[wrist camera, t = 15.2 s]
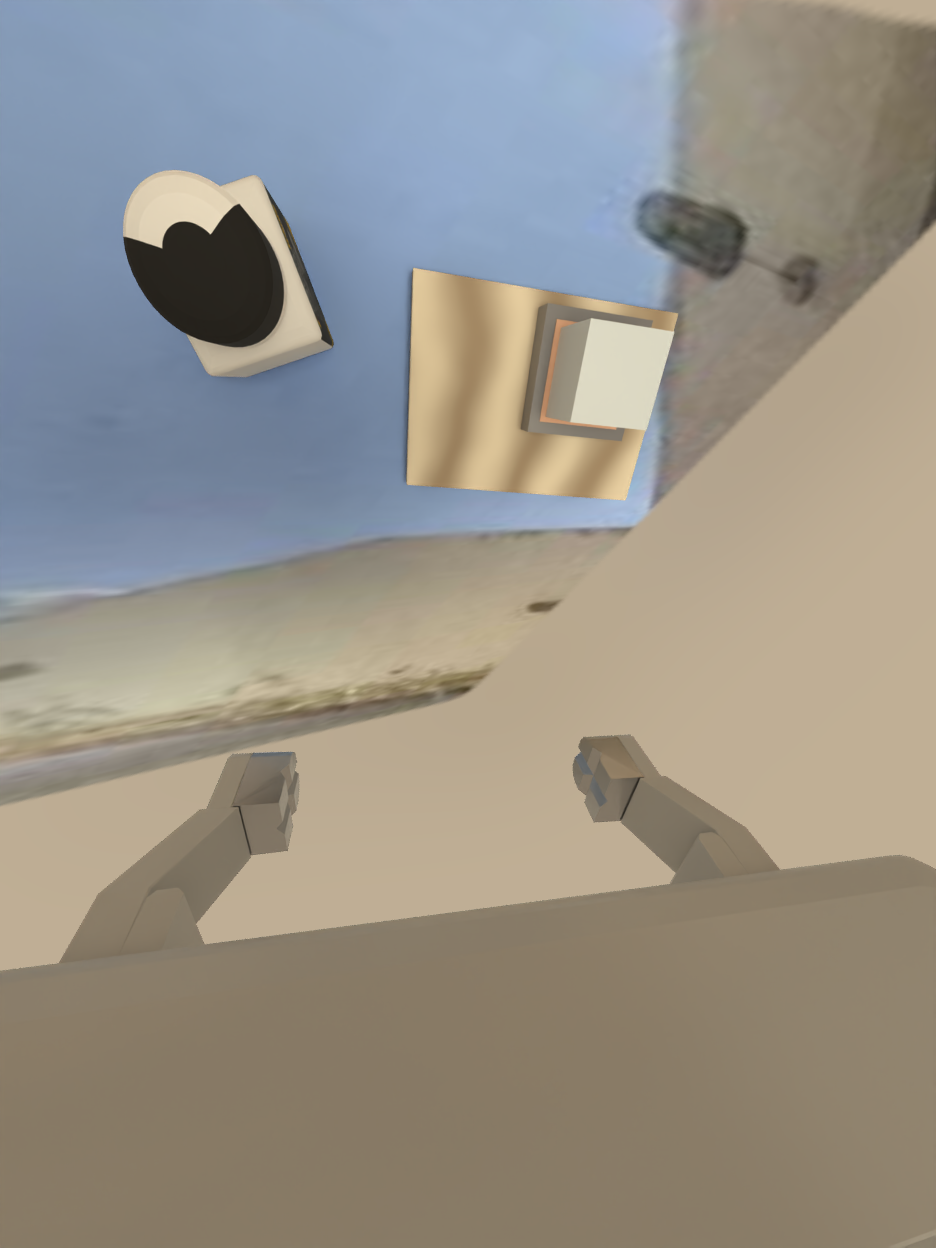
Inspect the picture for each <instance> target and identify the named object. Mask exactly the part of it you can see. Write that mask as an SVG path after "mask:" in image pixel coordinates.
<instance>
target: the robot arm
mask: <svg viewBox="0 0 936 1248" xmlns="http://www.w3.org/2000/svg"><path fill="white" fill-rule="evenodd" d="M579 749H580V751H581V752H580V754H578V755H577V756H576V757H575V759H574V763H573V776H574V780H575V783H576V785H577V788H578V789H579V790H580V791H581V792H582V793H584V794H585V795H586V799H585V804H586V807H587V809H588V811H589V813H590V815H591V817H592V819H593V821H594V822H608V821H621V823H622V824H623V825H624V826H626V827H627V828H628V829H629V830H630V831H631V832H632V833H633V834H634V835H635V836H636V837H637V838H639V839H640V840H641V841H642V842H643V843H644V844H645V845H646V846H647V847H648V848H649V849H650V850H651V851H653V852H654V853H655V854H656V855H657V856H658V857H659V858H660V859H661V860H662V861H663V862H664V863H666V864H667V865H668V866H669V867H670V868H671V869H672V870H673V871H674V872H676V874H675V876H674V877H673V879H672V880H671V882H670V884H667V885H660V886H652V887H645V888H637V889H629V890H622V891H613V892H606V893H599V894H591V895H583V896H575V897H567V898H560V899H552V900H545V901H536V902H529V903H521V904H513V905H506V906H498V907H491V908H483V909H475V910H468V911H460V912H452V913H445V914H437V915H430V916H422V917H414V918H407V919H399V920H391V921H383V922H375V923H367V924H360V925H352V926H344V927H337V928H329V929H321V930H314V931H306V932H298V933H290V934H283V935H275V936H267V937H259V938H252V939H244V940H236V941H229V942H220V943H213V944H206V945H204V942H203V940H202V937H201V935H200V932H199V930H198V927H197V925H196V923H197V922H198V921H199V920H200V918H201V917H202V916H203V915H204V914H205V912H206V911H207V910H208V909H209V908H210V906H211V905H212V904H213V903H214V901H215V900H216V899H217V898H218V897H219V895H220V894H221V893H222V892H223V890H224V889H225V888H226V887H227V886H228V884H229V883H230V882H231V881H232V880H233V878H234V877H235V876H236V875H237V874H238V872H239V871H240V870H241V869H242V868H243V866H244V865H245V864H246V863H247V861H248V860H249V859H250V858H251V856H250V855H256V854H265V853H273V852H281V851H288V846H289V841H290V837H291V832H292V828H293V823H292V817H291V815H292V814H293V813H294V812H295V811H296V809H297V804H298V797H299V774H298V773H297V772H296V771H295V768H296V763H297V760H296V754H295V752H270V753H247V754H246V753H245V754H232V755H231V756H230V757H229V758H228V760H227V762H226V765H225V767H224V769H223V771H222V774H221V776H220V779H219V781H218V783H217V785H216V788H215V790H214V793H213V795H212V797H211V800H210V802H209V804H208V806H207V809H202V810H199V811H198V812H196V813H195V814H194V815H193V816H192V817H190V818H189V819H188V820H187V821H186V822H184V823H183V824H182V825H181V826H180V827H178V828H177V829H176V830H175V831H174V832H172V833H171V834H170V835H169V836H167V838H165V839H164V840H163V841H161V842H160V843H159V844H158V845H157V846H155V847H154V848H153V849H152V850H151V851H149V852H148V853H147V854H146V855H145V856H143V857H142V858H141V859H140V860H139V861H137V862H136V863H135V864H134V865H133V866H131V867H130V868H129V869H128V870H126V872H124V873H123V874H122V875H121V876H119V877H118V878H117V879H116V880H115V881H113V882H112V883H111V884H110V885H108V886H107V887H106V888H105V889H104V890H103V891H101V892H100V893H99V894H98V895H97V897H96V899H95V901H94V902H93V904H92V906H91V908H90V909H89V911H88V913H87V915H86V916H85V919H84V920H83V922H82V923H81V925H80V927H79V929H78V930H77V932H76V934H75V936H74V937H73V939H72V941H71V943H70V944H69V946H68V948H67V950H66V952H65V953H64V955H63V957H62V958H61V960H60V962H59V963H58V964H50V965H42V966H34V967H26V968H19V969H11V970H3V971H0V1248H936V869H934V868H933V867H931V866H929V865H926V864H924V863H922V862H920V861H918V860H916V859H914V858H911V857H907V856H901V855H893V856H883V857H876V858H868V859H860V860H852V861H845V862H837V863H829V864H822V865H814V866H806V867H799V868H791V869H783V870H780V869H779V868H778V867H777V865H776V864H775V863H774V862H773V860H772V859H771V858H770V857H769V855H768V854H767V853H766V852H765V850H764V849H763V848H762V847H761V845H760V844H759V843H758V842H757V840H756V839H755V838H754V837H753V836H752V834H751V833H750V832H749V831H748V829H747V828H746V827H744V826H743V825H741V824H740V823H738V822H737V821H735V820H733V819H732V818H730V817H729V816H727V815H726V814H724V813H722V812H721V811H719V810H718V809H716V808H715V807H713V806H711V805H710V804H708V803H707V802H705V801H704V800H702V799H701V798H699V797H697V796H696V795H694V794H693V793H691V792H689V791H688V790H687V789H685V788H683V787H682V786H680V785H679V784H677V783H675V782H674V781H672V780H671V779H669V778H668V777H666V776H661V775H660V774H659V773H658V771H657V770H656V768H655V767H654V765H653V764H652V763H651V761H650V760H649V758H648V757H647V755H646V754H645V753H644V751H643V750H642V748H641V747H640V746H639V744H638V743H637V741H636V740H635V738H634V737H633V736H631V735H615V736H597V737H583V739H581V741H580V743H579Z"/></svg>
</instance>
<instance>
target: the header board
mask: <svg viewBox="0 0 936 1248" xmlns="http://www.w3.org/2000/svg"><path fill="white" fill-rule="evenodd" d="M677 316H678V314H677V313H671V312H666V311H660V310H654V309H648V308H642V307H637V306H631V305H625V304H619V303H613V302H608V301H602V300H596V299H590V298H585V297H579V296H573V295H567V294H561V293H556V292H550V291H544V290H538V289H533V288H527V287H521V286H515V285H509V284H504V283H498V282H492V281H486V280H481V279H475V278H469V277H463V276H457V275H452V274H446V273H440V272H434V271H428V270H423V269H417V268H413V272H412V301H411V335H410V370H409V404H408V439H407V473H406V482H407V485H418V486H432V487H446V488H460V489H474V490H488V491H502V492H516V493H530V494H544V495H559V496H573V497H587V498H601V499H615V500H626V497H627V493H628V490H629V486H630V483H631V479H632V475H633V472H634V468H635V465H636V461H637V458H638V454H639V451H640V447H641V444H642V440H643V437H644V433H645V430H637V429H628V428H619V427H610V426H601V425H591V424H582V423H573V422H567V421H562V420H558V419H553V418H548V417H546V411H547V406H548V400H549V394H550V388H551V383H552V377H553V371H554V365H555V360H556V354H557V348H558V342H559V337H560V331H561V328H562V327H565V326H568V325H571V324H574V323H577V322H581V321H584V320H587V319H590V318H593V319H599V320H605V321H612V322H618V323H624V324H630V325H636V326H642V327H648V328H655V329H661V330H667V331H673V330H674V327H675V323H676V320H677Z"/></svg>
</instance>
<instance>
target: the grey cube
mask: <svg viewBox="0 0 936 1248" xmlns="http://www.w3.org/2000/svg"><path fill="white" fill-rule="evenodd" d="M673 335H674V332H673V331H667V330H661V329H655V328H648V327H642V326H636V325H630V324H624V323H618V322H612V321H605V320H599V319H593V318H590V319H587V320H584V321H581V322H577V323H574V324H571V325H568V326H565V327H562V328H561V331H560V337H559V342H558V348H557V354H556V360H555V365H554V371H553V377H552V383H551V388H550V394H549V400H548V406H547V411H546V417H548V418H553V419H558V420H562V421H567V422H573V423H582V424H591V425H601V426H610V427H619V428H628V429H637V430H647V426H648V423H649V419H650V416H651V412H652V409H653V405H654V402H655V398H656V395H657V391H658V388H659V384H660V381H661V377H662V374H663V370H664V367H665V363H666V360H667V356H668V353H669V349H670V345H671V342H672V338H673Z"/></svg>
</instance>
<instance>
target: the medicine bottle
mask: <svg viewBox="0 0 936 1248" xmlns="http://www.w3.org/2000/svg"><path fill="white" fill-rule="evenodd" d="M123 238H124V245H125V251H126V255H127V259H128V262H129V265H130V267H131V270H132V273H133V275H134V277H135V279H136V281H137V283H138V285H139V287H140V288H141V290H142V292H143V293H144V295H145V296H146V298H147V299H148V300H149V302H150V303H151V304H152V305H153V307H154V308H155V309H156V310H157V311H158V312H159V313H160V314H161V315H162V316H163V317H164V318H165V319H166V320H167V321H168V322H170V323H171V324H172V325H173V326H175V327H176V328H178V329H179V330H180V331H182V332H184V333H186V335H187V337H188V338H189V340H190V342H191V344H192V346H193V348H194V350H195V351H196V353H197V355H198V357H199V359H200V361H201V363H202V364H203V366H204V368H205V370H206V371H207V373H208V374H209V375H211V376H224V377H249V376H252V375H255V374H258V373H261V372H264V371H267V370H270V369H272V368H275V367H278V366H281V365H284V364H287V363H290V362H293V361H296V360H299V359H302V358H305V357H308V356H311V355H314V354H316V353H319V352H322V351H325V350H328V349H331V348H332V347H333V345H334V343H333V339H332V337H331V334H330V331H329V329H328V326H327V324H326V321H325V318H324V316H323V313H322V310H321V308H320V305H319V303H318V300H317V297H316V295H315V292H314V290H313V287H312V284H311V282H310V279H309V276H308V274H307V271H306V269H305V266H304V263H303V261H302V258H301V256H300V253H299V250H298V248H297V245H296V242H295V240H294V237H293V235H292V232H291V229H290V227H289V224H288V223H287V221H286V219H285V218H284V216H283V215H282V213H281V211H280V210H279V208H278V206H277V205H276V203H275V202H274V200H273V198H272V197H271V195H270V194H269V192H268V190H267V189H266V187H265V185H264V184H263V182H262V181H261V179H260V178H259V177H257V176H255V175H251V176H248V177H245V178H242V179H239V180H237V181H234V182H231V183H228V184H225V185H222V186H219V185H217V184H215V183H214V182H212V181H210V180H209V179H207V178H204V177H202V176H200V175H198V174H194V173H190V172H187V171H179V170H170V171H163V172H159V173H155V174H153V175H151V176H150V177H148V178H146V179H145V180H144V181H142V182H141V183H140V184H139V185H138V186H137V187H136V189H135V190H134V191H133V193H132V195H131V197H130V199H129V201H128V203H127V206H126V210H125V214H124V222H123Z"/></svg>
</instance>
